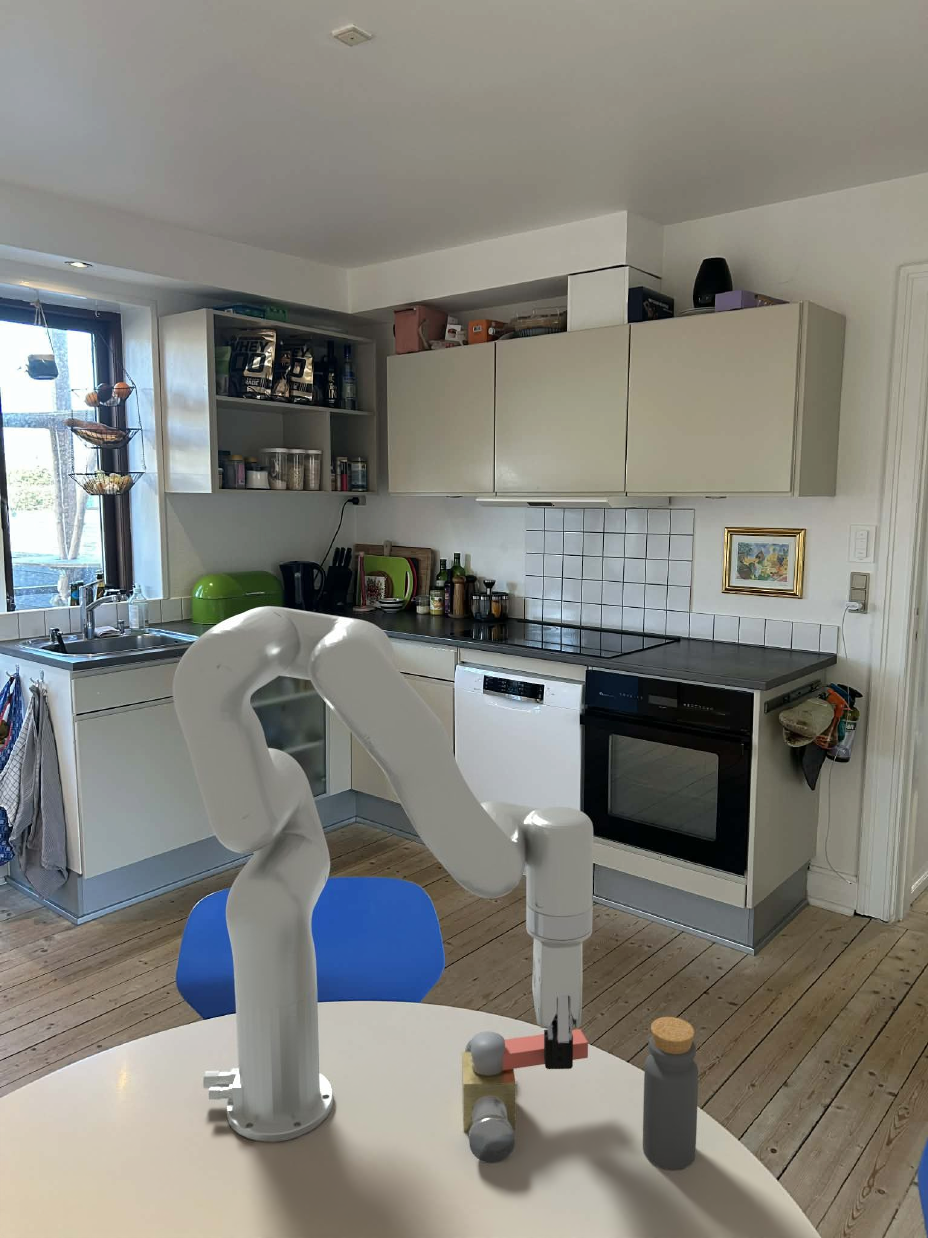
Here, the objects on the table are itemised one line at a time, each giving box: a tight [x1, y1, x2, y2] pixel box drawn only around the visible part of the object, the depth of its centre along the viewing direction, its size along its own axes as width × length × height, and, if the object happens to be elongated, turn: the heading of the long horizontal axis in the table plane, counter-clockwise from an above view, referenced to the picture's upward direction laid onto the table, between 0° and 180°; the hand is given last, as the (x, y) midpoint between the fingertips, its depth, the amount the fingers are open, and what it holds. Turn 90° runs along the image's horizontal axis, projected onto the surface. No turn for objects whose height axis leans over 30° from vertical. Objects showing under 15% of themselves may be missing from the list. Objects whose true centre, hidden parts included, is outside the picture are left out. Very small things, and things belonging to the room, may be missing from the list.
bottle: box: [642, 1016, 699, 1171], centre depth 102 cm, size 6×6×15 cm
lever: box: [470, 1028, 589, 1076], centre depth 109 cm, size 14×4×3 cm, turn 103°
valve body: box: [461, 1038, 516, 1164], centre depth 109 cm, size 6×16×6 cm, turn 2°
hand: (558, 1064), depth 107 cm, fingers closed
